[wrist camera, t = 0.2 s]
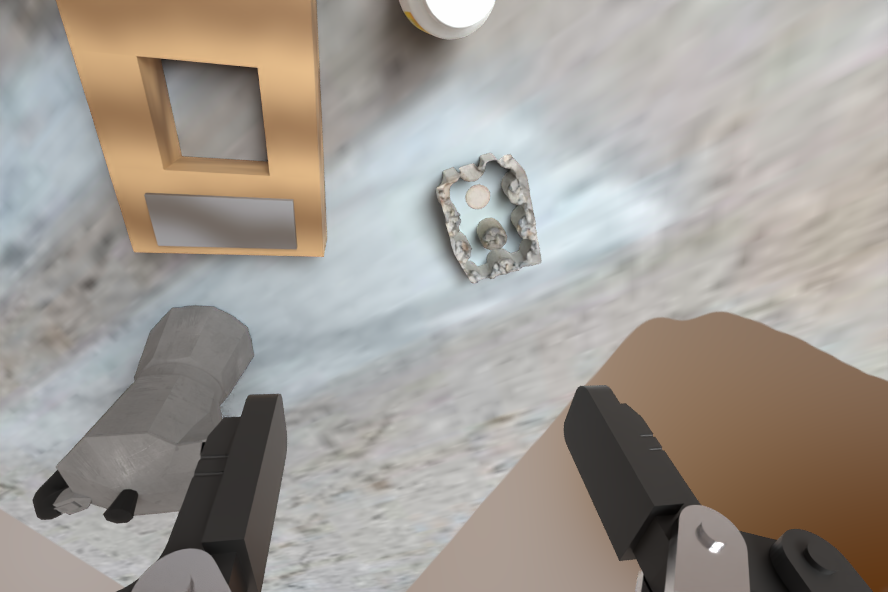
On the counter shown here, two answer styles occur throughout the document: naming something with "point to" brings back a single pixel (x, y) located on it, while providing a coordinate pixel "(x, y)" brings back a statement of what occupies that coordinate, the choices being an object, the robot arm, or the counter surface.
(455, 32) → the supplement bottle
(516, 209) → the egg carton
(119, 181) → the jig
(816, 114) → the counter surface
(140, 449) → the coffeepot
